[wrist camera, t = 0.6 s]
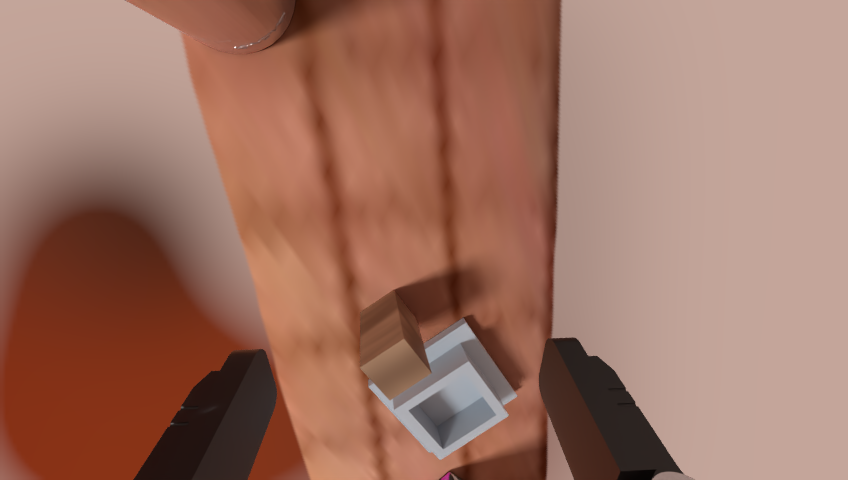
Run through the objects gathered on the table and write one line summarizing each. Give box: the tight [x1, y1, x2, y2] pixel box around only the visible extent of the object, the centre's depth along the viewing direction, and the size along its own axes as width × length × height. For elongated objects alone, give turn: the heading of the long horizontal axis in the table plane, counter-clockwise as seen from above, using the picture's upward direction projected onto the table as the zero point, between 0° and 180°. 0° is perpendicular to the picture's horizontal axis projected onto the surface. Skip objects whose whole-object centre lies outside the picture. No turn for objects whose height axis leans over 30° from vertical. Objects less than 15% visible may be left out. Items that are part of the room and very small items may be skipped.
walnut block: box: [360, 290, 432, 400], centre depth 31 cm, size 4×4×8 cm
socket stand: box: [368, 318, 517, 460], centre depth 37 cm, size 12×12×4 cm
